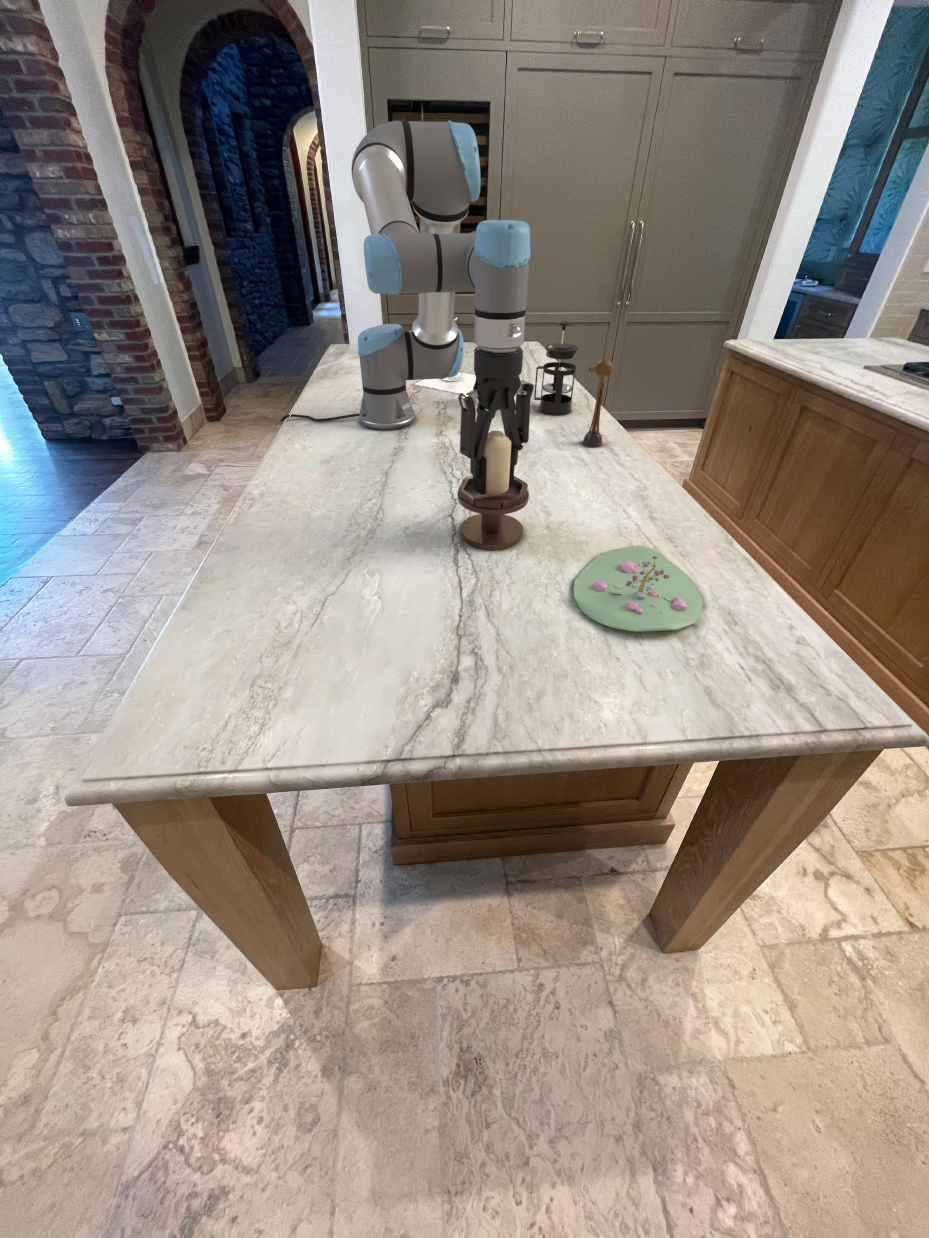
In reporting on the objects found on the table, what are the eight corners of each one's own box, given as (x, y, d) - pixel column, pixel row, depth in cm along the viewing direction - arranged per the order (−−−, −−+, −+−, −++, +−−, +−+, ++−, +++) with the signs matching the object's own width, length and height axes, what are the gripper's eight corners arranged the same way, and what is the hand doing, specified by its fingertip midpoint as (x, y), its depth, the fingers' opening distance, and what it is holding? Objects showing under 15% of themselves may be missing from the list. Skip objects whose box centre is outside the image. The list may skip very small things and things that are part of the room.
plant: (565, 546, 99) (572, 501, 93) (679, 550, 98) (692, 506, 92) (578, 635, 80) (587, 586, 74) (719, 641, 79) (739, 593, 73)
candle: (506, 496, 94) (509, 440, 88) (475, 493, 95) (476, 438, 89) (510, 483, 98) (513, 428, 92) (481, 480, 99) (482, 426, 93)
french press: (571, 405, 160) (582, 318, 145) (575, 415, 153) (586, 325, 138) (532, 404, 161) (539, 318, 146) (533, 415, 153) (541, 325, 139)
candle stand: (451, 547, 99) (450, 499, 92) (464, 514, 108) (464, 468, 102) (521, 555, 97) (525, 506, 90) (528, 520, 107) (532, 474, 100)
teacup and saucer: (469, 378, 181) (469, 365, 178) (457, 384, 176) (456, 371, 173) (448, 374, 185) (448, 361, 182) (435, 380, 179) (434, 367, 177)
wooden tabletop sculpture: (581, 447, 135) (593, 362, 122) (576, 440, 139) (588, 357, 126) (604, 447, 135) (618, 362, 123) (599, 440, 139) (612, 356, 126)
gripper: (462, 361, 75) (462, 509, 90) (561, 343, 83) (546, 482, 98) (434, 349, 80) (438, 492, 95) (530, 334, 88) (520, 468, 103)
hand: (493, 487), depth 96 cm, fingers closed on candle, 5 cm apart
